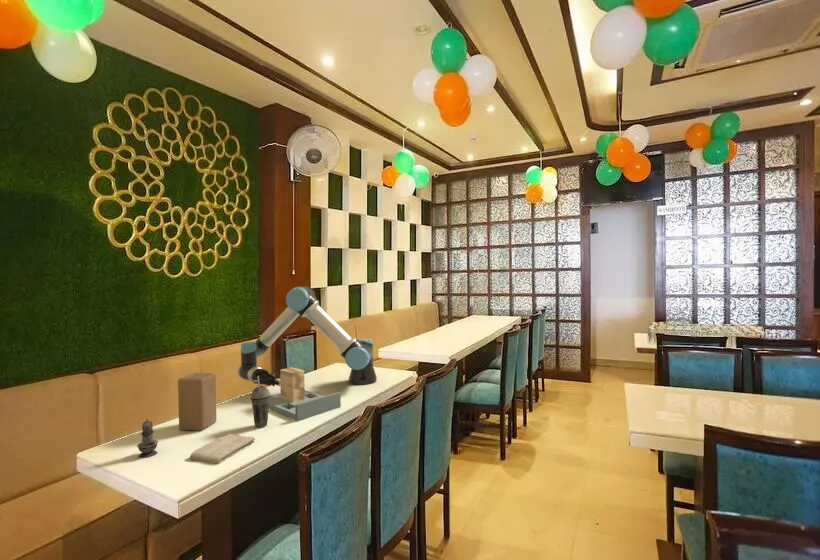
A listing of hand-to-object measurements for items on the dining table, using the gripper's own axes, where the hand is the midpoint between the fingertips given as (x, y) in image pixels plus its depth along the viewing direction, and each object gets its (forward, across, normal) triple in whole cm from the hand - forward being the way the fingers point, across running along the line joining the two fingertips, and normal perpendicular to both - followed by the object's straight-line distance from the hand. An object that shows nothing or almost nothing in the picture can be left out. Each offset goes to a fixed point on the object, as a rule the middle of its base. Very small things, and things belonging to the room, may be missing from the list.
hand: (284, 383), depth 187 cm
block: (0, +38, -9) cm, 39 cm away
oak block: (+5, -1, -6) cm, 8 cm away
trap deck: (+10, -1, -8) cm, 13 cm away
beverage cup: (+19, +22, -9) cm, 30 cm away
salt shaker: (+13, +59, -9) cm, 61 cm away
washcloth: (+30, +41, -9) cm, 51 cm away
